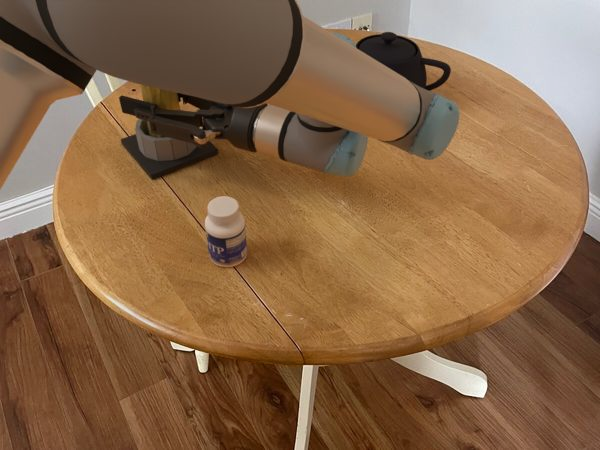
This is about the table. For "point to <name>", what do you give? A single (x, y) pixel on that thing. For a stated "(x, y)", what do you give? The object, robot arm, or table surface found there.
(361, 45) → the teapot
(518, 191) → the table surface
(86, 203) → the table surface
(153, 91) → the vase
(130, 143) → the socket pad
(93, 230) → the table surface
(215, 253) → the pill bottle
